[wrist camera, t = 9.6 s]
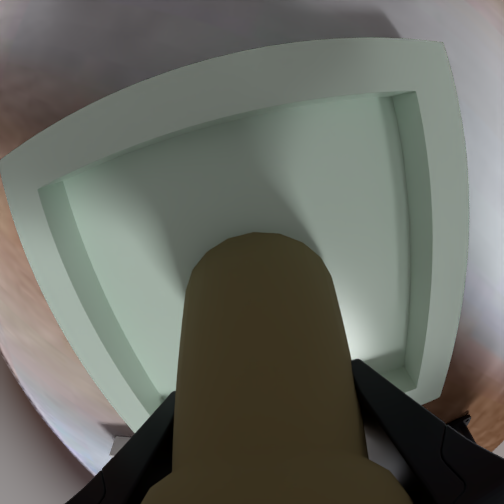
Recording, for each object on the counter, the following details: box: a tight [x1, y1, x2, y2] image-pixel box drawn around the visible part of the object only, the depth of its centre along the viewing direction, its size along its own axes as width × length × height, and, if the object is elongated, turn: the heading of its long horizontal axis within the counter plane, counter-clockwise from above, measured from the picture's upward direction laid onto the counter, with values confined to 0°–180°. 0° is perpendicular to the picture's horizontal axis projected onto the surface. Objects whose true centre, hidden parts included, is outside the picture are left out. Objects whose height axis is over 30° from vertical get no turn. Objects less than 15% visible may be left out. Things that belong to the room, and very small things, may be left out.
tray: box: [0, 37, 469, 433], centre depth 12 cm, size 18×18×2 cm
